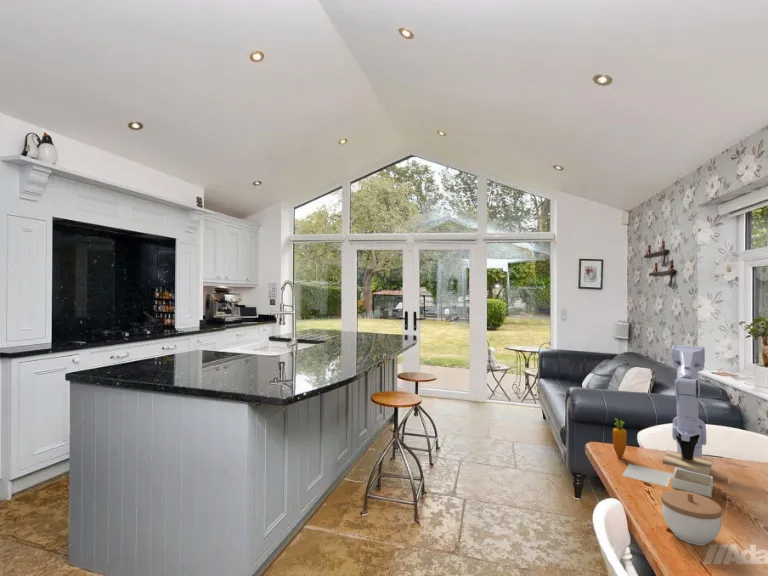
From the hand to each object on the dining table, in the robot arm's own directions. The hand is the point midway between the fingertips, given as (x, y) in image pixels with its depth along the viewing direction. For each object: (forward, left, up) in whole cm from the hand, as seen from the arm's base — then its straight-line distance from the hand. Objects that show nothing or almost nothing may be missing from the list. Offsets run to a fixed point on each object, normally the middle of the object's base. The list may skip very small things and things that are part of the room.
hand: (688, 457), depth 133 cm
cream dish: (0, +1, -9) cm, 9 cm away
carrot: (-12, -22, -10) cm, 27 cm away
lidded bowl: (+34, +3, -10) cm, 36 cm away
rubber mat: (-1, -12, -9) cm, 15 cm away
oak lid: (0, 0, -2) cm, 2 cm away
